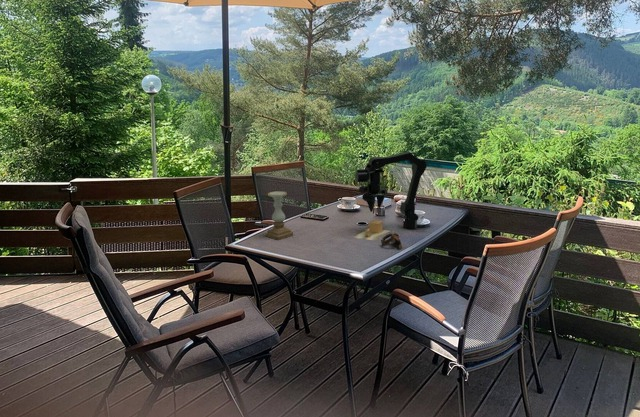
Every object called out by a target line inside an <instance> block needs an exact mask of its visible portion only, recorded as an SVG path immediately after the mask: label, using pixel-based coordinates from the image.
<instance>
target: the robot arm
mask: <svg viewBox="0 0 640 417" xmlns="http://www.w3.org/2000/svg"><path fill="white" fill-rule="evenodd" d="M405 161H407V162H408V163H410V164H411V173H412V174H411V178H410V182H409V186H408V191H407V195H406V198H405V200H404V201H401V202H400V207H399V210H400V213H401V215H403V218H404V219H403V222H402V223H403V229H406V230H417V229H418V220H419V216H418V214H417V213H416V205H415V204H416V203H415V201H416V198H417V193H418V189H419V185H420V182H421V179H422V178H421V177H422V176H423V174H424V173H425V171H426V169H427V166H428V164H427V162H426V161H425V159H421V158H418V157H417V156H416V155H414V154H413V153H411V152H409V151H404V152H401V153H397V154H393V155H388V156H373V157H370V158H369V159H368V163H367V164H366V166H364V169H356V172H355V175H354V179H355V182H356V183H367V182H368V181H369V182H368V183H367V186H364V185H361V186H359V188H358V192H359V193H360V195H362V196H361V198H362V199H361V200H363V201H364V202H366V204H367V206H368V209H369V211H370V212H373V211H374V207H375V204H377V208H378V209H380V208H381V206H382V204H383V202H384V200H385V198H386V196H387V195H388V189H387V188H383V187H381V186H382V185H383V182H381V173H385V171H384V170H383V168H384V167H386V166H387V165H391V164H395V163H399V162H405Z"/></svg>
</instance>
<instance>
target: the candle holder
mask: <svg viewBox="0 0 640 417" xmlns="http://www.w3.org/2000/svg"><path fill="white" fill-rule="evenodd" d="M267 195H268V197H271V198H272V199H273V201H274V202H273V205H272V206H273V207H274V211H273V213H272V214H271V220H272V221H273V222H272V225H273V227H272V228H270V229H268V230H267V232H266V233H265V237H266V238H270V239H273V240H277V241H279V240H284V239H287V238H290V237H293V236H294V232H292V229H290V228H287V227H286V226H285V222H284V221H285V220H286V214H285V213H284V211H283V210H282V207H283V206H284V204H283V203H282V199H283V197H285V196H287V195H288V193H287V191H282V190H278V191H277V190H276V191H275V190H274V191H270V192H268V193H267Z"/></svg>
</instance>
